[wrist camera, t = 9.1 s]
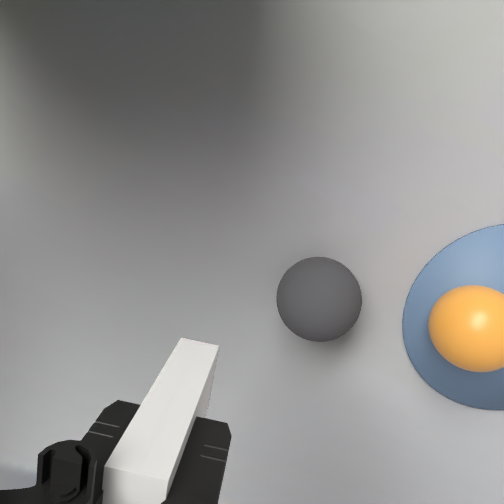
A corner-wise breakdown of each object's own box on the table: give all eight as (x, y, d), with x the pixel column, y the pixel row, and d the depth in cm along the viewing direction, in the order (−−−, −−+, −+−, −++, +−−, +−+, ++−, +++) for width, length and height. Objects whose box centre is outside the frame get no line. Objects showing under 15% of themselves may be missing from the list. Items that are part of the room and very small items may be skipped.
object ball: (470, 341, 22) (564, 355, 22) (447, 262, 26) (528, 275, 26) (421, 379, 26) (501, 390, 27) (407, 306, 30) (477, 318, 30)
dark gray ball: (380, 323, 23) (379, 294, 28) (317, 249, 23) (328, 233, 28) (307, 372, 25) (319, 336, 30) (249, 303, 25) (271, 280, 30)
